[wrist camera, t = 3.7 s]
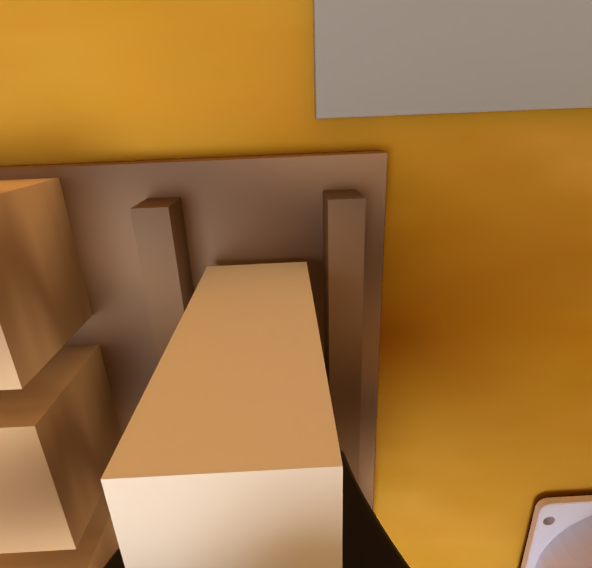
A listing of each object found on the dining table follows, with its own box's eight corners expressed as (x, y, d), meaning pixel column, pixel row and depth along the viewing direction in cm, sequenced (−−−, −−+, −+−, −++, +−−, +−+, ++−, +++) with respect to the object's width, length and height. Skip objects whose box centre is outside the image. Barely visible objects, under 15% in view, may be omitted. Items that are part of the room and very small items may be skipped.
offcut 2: (149, 548, 18) (114, 662, 14) (53, 554, 18) (-7, 670, 14) (129, 469, 16) (84, 575, 12) (24, 475, 16) (-53, 583, 12)
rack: (366, 519, 19) (378, 575, 17) (55, 537, 19) (23, 597, 16) (379, 150, 13) (401, 157, 11) (-77, 169, 13) (-156, 181, 10)
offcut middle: (124, 447, 16) (75, 549, 12) (16, 452, 16) (-66, 557, 12) (99, 344, 14) (34, 425, 10) (-21, 350, 14) (-130, 435, 10)
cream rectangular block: (313, 504, 16) (341, 826, 9) (236, 508, 16) (199, 836, 9) (306, 261, 13) (343, 466, 5) (207, 266, 13) (100, 479, 5)
